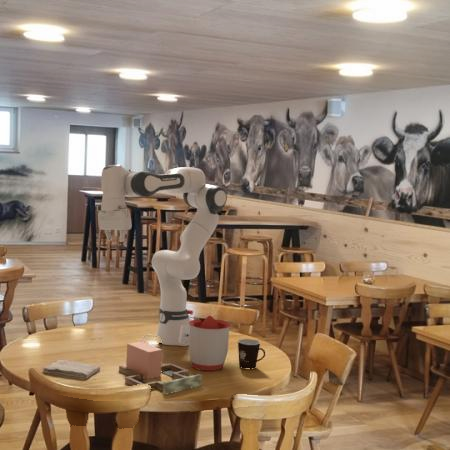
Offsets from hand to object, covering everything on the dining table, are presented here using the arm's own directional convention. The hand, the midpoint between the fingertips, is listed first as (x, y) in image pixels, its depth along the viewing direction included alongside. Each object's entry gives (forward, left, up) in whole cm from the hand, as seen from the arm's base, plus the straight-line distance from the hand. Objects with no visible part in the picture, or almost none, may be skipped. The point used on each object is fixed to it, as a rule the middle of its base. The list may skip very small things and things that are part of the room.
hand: (115, 241), depth 267 cm
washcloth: (+25, +11, -46) cm, 53 cm away
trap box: (+4, +34, -45) cm, 57 cm away
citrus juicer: (-21, +33, -45) cm, 60 cm away
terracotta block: (+4, +27, -45) cm, 53 cm away
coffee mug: (-33, +44, -45) cm, 72 cm away
